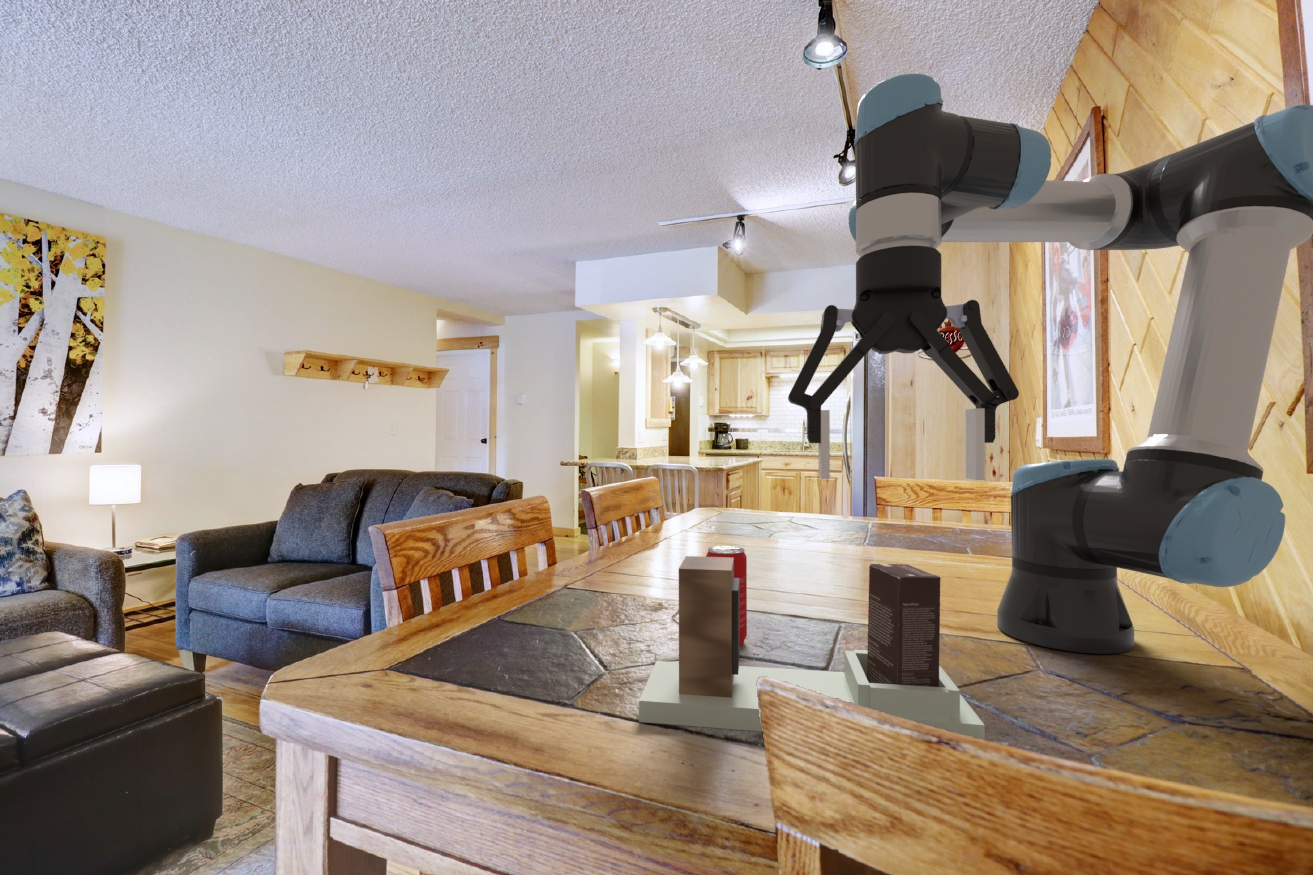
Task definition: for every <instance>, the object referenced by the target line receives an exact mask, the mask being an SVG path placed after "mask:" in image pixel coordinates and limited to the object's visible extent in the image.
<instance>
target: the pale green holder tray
mask: <svg viewBox="0 0 1313 875" xmlns="http://www.w3.org/2000/svg"><path fill="white" fill-rule="evenodd" d="M843 657H844V671H834V670H833V671H830V670H814V669H813V670H812V669H799V668H798V669H797V668H783V667H782V668H780V667H779V668H778V667H767V666H766V667H761V666H749V665H747V666H746V665H739V671H738V675H734V678H733V689H732V698H729V697H715V696H700V695H685V694H679V661H678V662H677V661H663V660H656V662H655V664H654V665H653V668H652V671H651V673H650V674H649V677H648V680H647V682H646V684H645V687H644V688H643V691H642V693H641V695H640V697H639V700H638V722H639V723H647V724H648V723H649V724H660V725H661V724H662V725H673V726H674V725H676V726H687V727H700V728H712V729H713V728H714V729H715V728H716V729H728V730H737V731H739V730H740V731H750V732H751V731H752V732H763V731H762V726H761V723H760V717H759V708H758V697H757V686H756V680H757V678H758V677H759V676H768V677H771V678H775V679H779V680H781V681H787V682H789V683H792V684H793V685H799V686H800V687H804V688H806V689H810V690H813V691H816V692H817V693H822V694H824V695H826V696H830V697H833V698H839V699H841V700H843V701H846V702H852V703H854V704H856V705H860V706H864V707H869V708H871V709H873V710H879V711H882V712H885V713H886V714H890V715H894V716H899V717H901V718H904V719H909V720H913V721H915V722H917V723H923V724H925V725H929V726H933V727H935V728H941V729H945V730H946V731H949V732H957V733H959V734H963V735H967V736H973V737H976V738H980V739H983V740H985V738H986V736H985V734H986V732H985V730H986V726H985V724H984V722H983V721H982V720H981V718H980V717H979V715H978V714H977V713H976V712H975V711H974V709H973V708H972V706H970V704H969V703H968V702H967V701H966V699H965V698H964V696H963V695H962V694H961V690H960V689H959V687H958V686H957V685H956V684H955V683H954V681H953V680H952V679H951V678H950V676H949V675H948V674H947V672H945V670H944V668H943V667H942V666H941V665H940V664H939V687H927V686H911V685H895V684H879V683H869V682H868V680H867V660H868V659H867V657H868V649H867V650H865V649H853V650H844V656H843ZM985 741H986V740H985Z"/></svg>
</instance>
